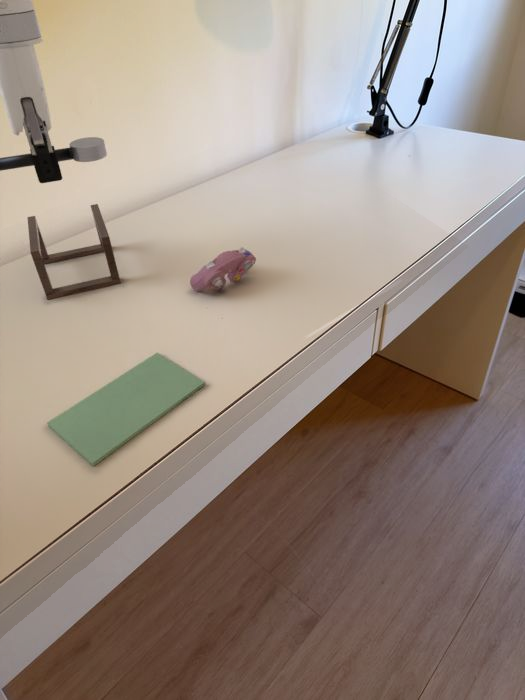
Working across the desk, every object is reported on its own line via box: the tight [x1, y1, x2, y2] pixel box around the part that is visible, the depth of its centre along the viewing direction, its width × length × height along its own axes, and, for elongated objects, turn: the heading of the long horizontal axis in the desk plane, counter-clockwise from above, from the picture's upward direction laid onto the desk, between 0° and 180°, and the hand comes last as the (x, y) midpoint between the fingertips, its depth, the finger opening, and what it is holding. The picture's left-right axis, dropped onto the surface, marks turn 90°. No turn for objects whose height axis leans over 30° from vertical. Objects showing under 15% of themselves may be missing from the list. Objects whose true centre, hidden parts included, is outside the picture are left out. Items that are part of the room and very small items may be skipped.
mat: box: [46, 352, 206, 467], centre depth 61 cm, size 16×9×1 cm, turn 138°
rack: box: [27, 203, 121, 300], centre depth 84 cm, size 11×13×8 cm
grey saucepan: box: [0, 136, 108, 172], centre depth 74 cm, size 16×5×2 cm, turn 111°
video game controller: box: [189, 246, 257, 292], centre depth 79 cm, size 10×5×7 cm, turn 131°
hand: (50, 177), depth 76 cm, fingers closed on grey saucepan, 1 cm apart
